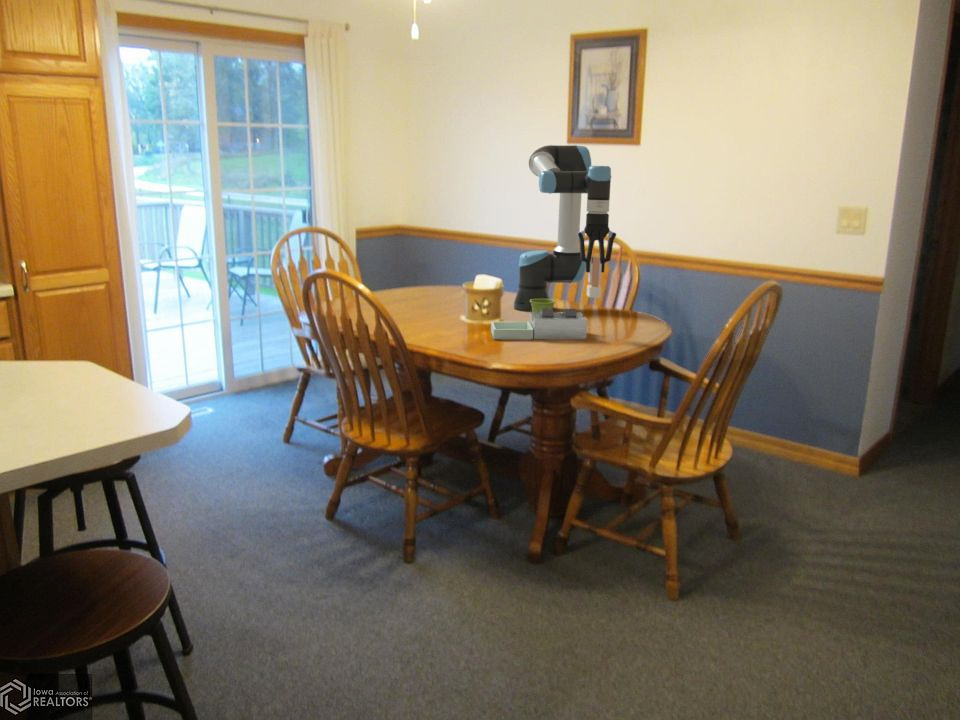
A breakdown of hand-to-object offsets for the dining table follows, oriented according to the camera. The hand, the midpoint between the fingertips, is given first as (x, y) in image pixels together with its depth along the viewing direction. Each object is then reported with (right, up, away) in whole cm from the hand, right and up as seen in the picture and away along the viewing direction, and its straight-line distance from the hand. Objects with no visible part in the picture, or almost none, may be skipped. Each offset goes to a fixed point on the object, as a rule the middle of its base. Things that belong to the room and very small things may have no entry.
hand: (594, 281), depth 276 cm
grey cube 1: (-8, -13, +3) cm, 16 cm away
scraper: (0, -5, +1) cm, 5 cm away
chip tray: (-28, -18, +3) cm, 34 cm away
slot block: (-12, -18, +4) cm, 22 cm away
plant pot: (-16, -14, +23) cm, 32 cm away
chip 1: (-16, -13, +3) cm, 21 cm away
